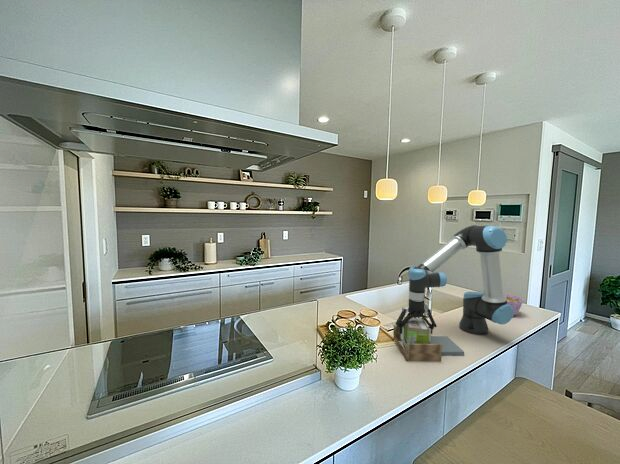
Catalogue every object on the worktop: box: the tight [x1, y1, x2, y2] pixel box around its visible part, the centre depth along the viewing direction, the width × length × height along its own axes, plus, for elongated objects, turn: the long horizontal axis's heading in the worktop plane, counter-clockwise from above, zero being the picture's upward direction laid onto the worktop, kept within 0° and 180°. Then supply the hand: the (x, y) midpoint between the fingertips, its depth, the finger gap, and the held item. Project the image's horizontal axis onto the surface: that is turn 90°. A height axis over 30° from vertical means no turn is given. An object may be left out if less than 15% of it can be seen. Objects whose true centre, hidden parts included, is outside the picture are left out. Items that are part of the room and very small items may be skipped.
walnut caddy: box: [392, 324, 442, 362], centre depth 134 cm, size 17×22×8 cm
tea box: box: [403, 316, 430, 349], centre depth 134 cm, size 15×10×15 cm
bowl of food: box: [503, 293, 524, 315], centre depth 185 cm, size 20×20×12 cm
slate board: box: [429, 335, 465, 357], centre depth 137 cm, size 13×17×2 cm
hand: (415, 339), depth 134 cm, fingers open, 13 cm apart
